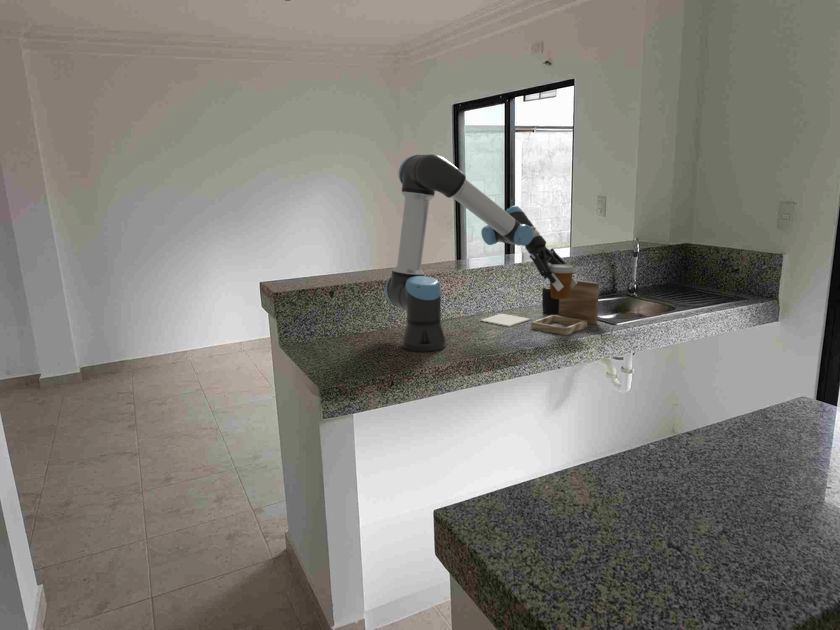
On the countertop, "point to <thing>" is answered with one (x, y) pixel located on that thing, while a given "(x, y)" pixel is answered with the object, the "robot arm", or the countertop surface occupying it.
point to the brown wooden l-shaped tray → (573, 310)
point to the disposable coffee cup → (561, 280)
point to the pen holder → (549, 302)
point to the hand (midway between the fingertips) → (567, 287)
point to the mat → (505, 320)
